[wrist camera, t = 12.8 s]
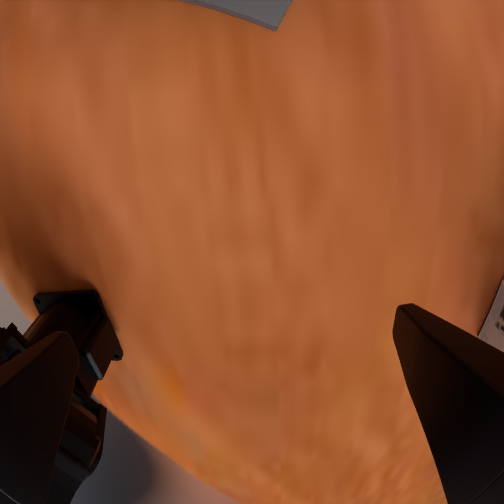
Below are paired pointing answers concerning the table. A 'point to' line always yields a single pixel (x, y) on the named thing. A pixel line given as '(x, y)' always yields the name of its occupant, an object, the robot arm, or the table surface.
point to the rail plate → (250, 10)
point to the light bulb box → (495, 322)
